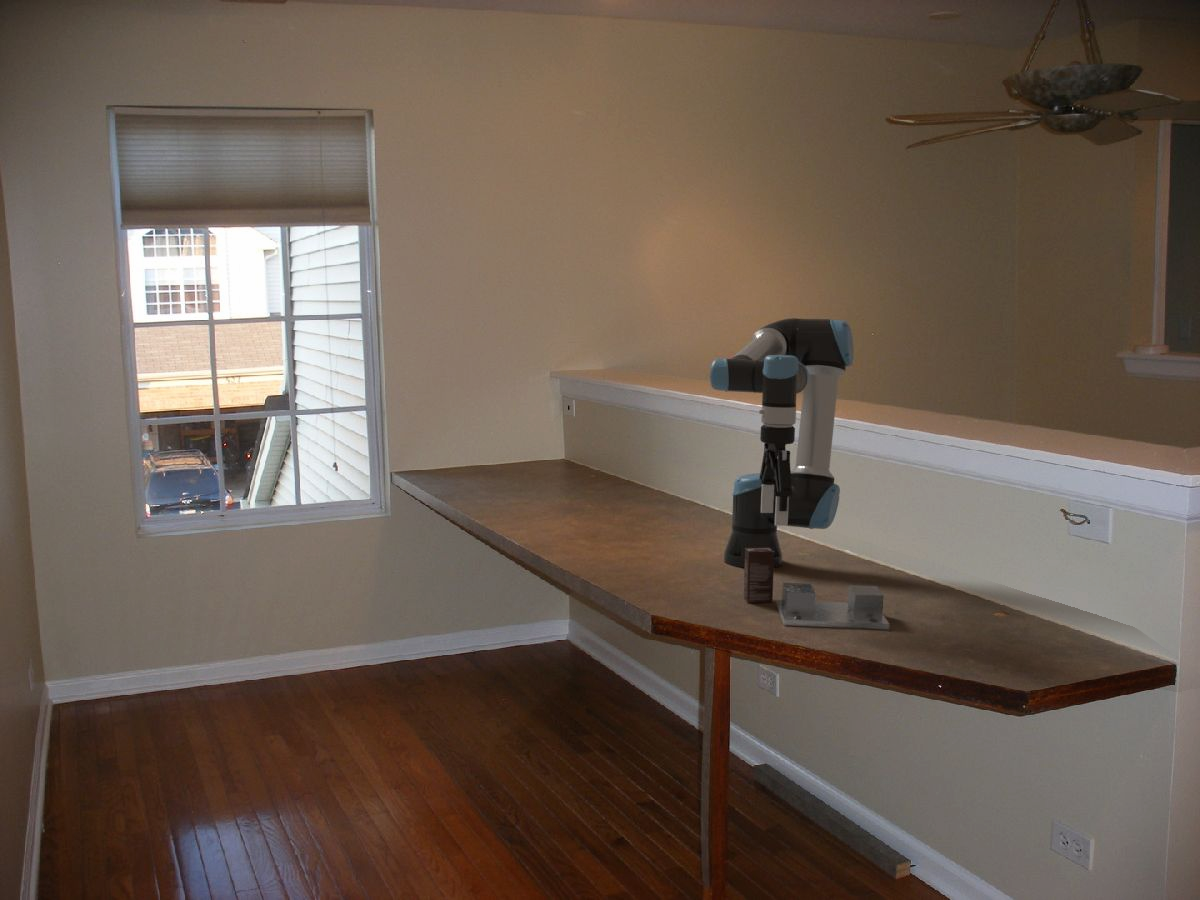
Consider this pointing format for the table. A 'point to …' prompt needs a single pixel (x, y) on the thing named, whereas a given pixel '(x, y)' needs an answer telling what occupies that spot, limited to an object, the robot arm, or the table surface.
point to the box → (758, 575)
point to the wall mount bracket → (832, 608)
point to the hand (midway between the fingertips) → (773, 518)
